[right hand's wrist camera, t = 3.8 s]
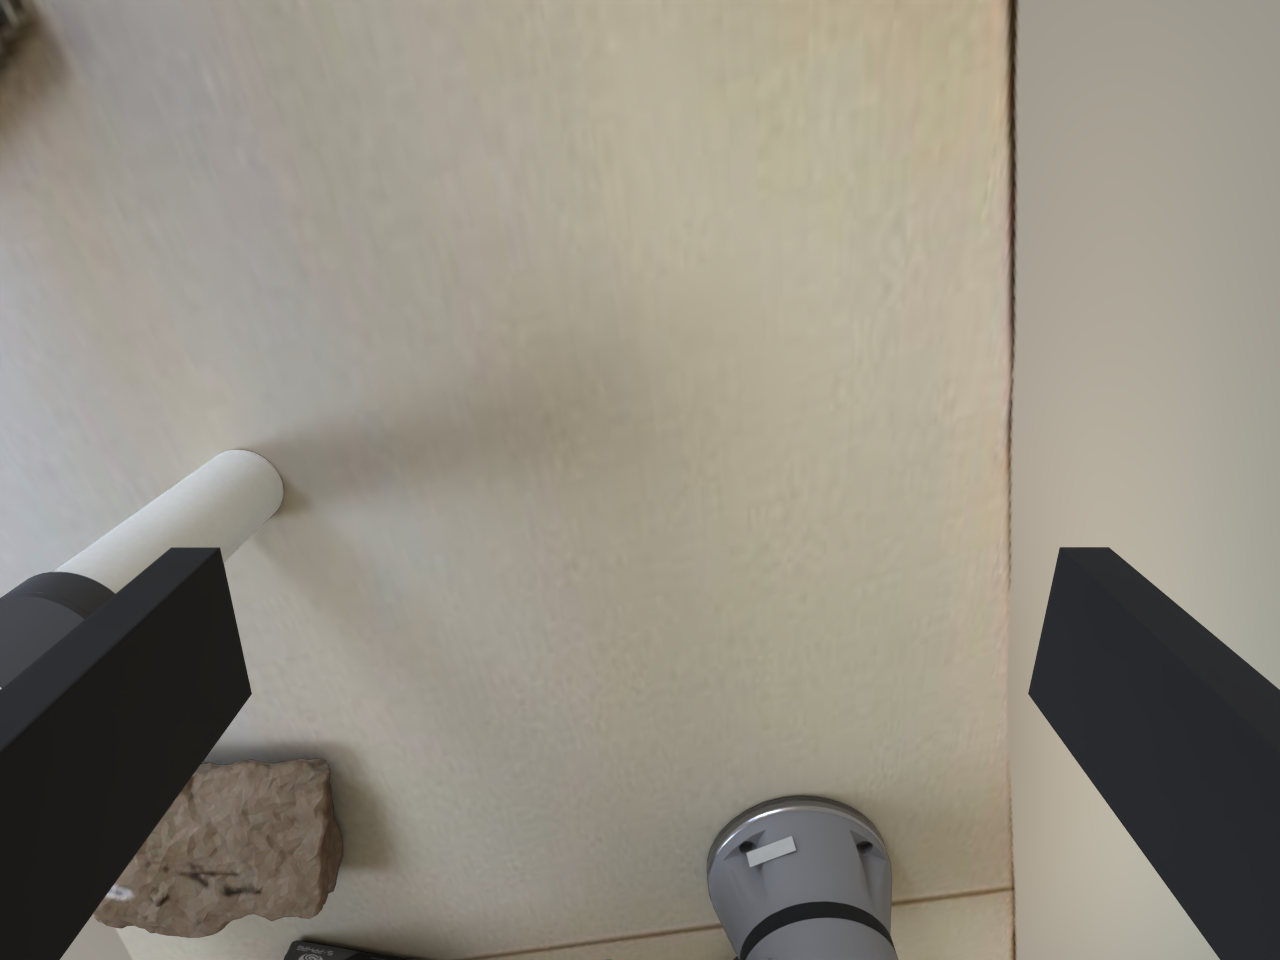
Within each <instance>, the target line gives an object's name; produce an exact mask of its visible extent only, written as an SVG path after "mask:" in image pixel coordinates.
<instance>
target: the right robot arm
mask: <svg viewBox="0 0 1280 960" xmlns="http://www.w3.org/2000/svg"><path fill="white" fill-rule="evenodd" d="M251 694H252V693H251V688H250V684H249V679H248V675H247V670H246V665H245V661H244V656H243V651H242V647H241V642H240V637H239V633H238V628H237V623H236V619H235V614H234V610H233V605H232V600H231V596H230V591H229V586H228V582H227V577H226V572H225V568H224V563H223V558H222V554H221V549H220V547H171V548H170V549H169V550H167V551H166V552H165V553H164V554H163V555H161V556H160V557H159V558H158V559H157V560H156V561H154V562H153V563H152V564H151V565H150V566H148V567H147V568H146V569H145V570H144V571H142V572H141V573H140V574H139V575H138V576H136V577H135V578H134V579H133V580H132V581H130V582H129V583H128V584H127V585H126V586H124V587H123V588H122V589H121V590H120V591H118V592H117V593H116V594H115V595H114V596H112V597H111V598H110V599H109V600H108V601H106V602H105V603H104V604H103V605H102V606H100V607H99V608H98V609H97V610H96V611H94V612H93V613H92V614H91V615H90V616H88V617H87V618H86V619H85V620H84V621H82V622H81V623H80V624H79V625H78V626H76V627H75V628H74V629H73V630H72V631H70V632H69V633H68V634H67V635H66V636H64V637H63V638H62V639H61V640H60V641H58V642H57V643H56V644H55V645H54V646H52V647H51V648H50V649H49V650H48V651H46V652H45V653H44V654H43V655H42V656H40V657H39V658H38V659H37V660H36V661H34V662H33V663H32V664H31V665H30V666H29V667H27V668H26V669H25V670H24V671H23V672H21V673H20V674H19V675H18V676H17V677H15V678H14V679H13V680H12V681H11V682H9V683H8V684H7V685H6V686H5V687H3V688H2V689H1V690H0V960H60V958H61V957H62V956H63V954H64V953H65V952H66V950H67V949H68V947H69V946H70V945H71V943H72V942H73V941H74V939H75V938H76V936H77V935H78V934H79V932H80V931H81V929H82V928H83V927H84V925H85V924H86V923H87V921H88V920H89V918H90V917H91V916H92V914H93V913H94V911H95V910H96V909H97V907H98V906H99V905H100V903H101V902H102V900H103V899H104V898H105V896H106V895H107V893H108V892H109V891H110V889H111V888H112V887H113V885H114V884H115V882H116V881H117V880H118V878H119V877H120V875H121V874H122V873H123V871H124V870H125V869H126V867H127V866H128V864H129V863H130V862H131V860H132V859H133V857H134V856H135V855H136V853H137V852H138V851H139V849H140V848H141V846H142V845H143V844H144V842H145V841H146V839H147V838H148V837H149V835H150V834H151V833H152V831H153V830H154V828H155V827H156V826H157V824H158V823H159V821H160V820H161V819H162V817H163V816H164V815H165V813H166V812H167V810H168V809H169V808H170V806H171V805H172V803H173V802H174V801H175V799H176V798H177V797H178V795H179V794H180V792H181V791H182V790H183V788H184V787H185V785H186V784H187V783H188V781H189V780H190V779H191V777H192V776H193V774H194V773H195V772H196V770H197V769H198V767H199V766H200V765H201V763H202V762H203V761H204V759H205V758H206V756H207V755H208V754H209V752H210V751H211V749H212V748H213V747H214V745H215V744H216V743H217V741H218V740H219V738H220V737H221V736H222V734H223V733H224V731H225V730H226V729H227V727H228V726H229V725H230V723H231V722H232V720H233V719H234V718H235V716H236V715H237V713H238V712H239V711H240V709H241V708H242V707H243V705H244V704H245V702H246V701H247V700H248V698H249V697H250V695H251ZM1028 694H1029V695H1030V697H1031V698H1032V700H1033V701H1034V702H1035V704H1036V705H1037V706H1038V708H1039V709H1040V711H1041V712H1042V713H1043V715H1044V716H1045V718H1046V719H1047V720H1048V722H1049V723H1050V725H1051V726H1052V727H1053V729H1054V730H1055V731H1056V733H1057V734H1058V736H1059V737H1060V738H1061V740H1062V741H1063V743H1064V744H1065V745H1066V747H1067V748H1068V749H1069V751H1070V752H1071V754H1072V755H1073V756H1074V758H1075V759H1076V761H1077V762H1078V763H1079V765H1080V766H1081V767H1082V769H1083V770H1084V772H1085V773H1086V774H1087V776H1088V777H1089V778H1090V780H1091V781H1092V783H1093V784H1094V785H1095V787H1096V788H1097V790H1098V791H1099V792H1100V794H1101V795H1102V797H1103V798H1104V799H1105V800H1106V802H1107V803H1108V805H1109V806H1110V808H1111V809H1112V810H1113V812H1114V813H1115V814H1116V816H1117V817H1118V819H1119V820H1120V821H1121V823H1122V824H1123V826H1124V827H1125V828H1126V830H1127V831H1128V832H1129V834H1130V835H1131V837H1132V838H1133V839H1134V841H1135V842H1136V844H1137V845H1138V846H1139V848H1140V849H1141V850H1142V852H1143V853H1144V855H1145V856H1146V857H1147V859H1148V860H1149V862H1150V863H1151V864H1152V866H1153V867H1154V868H1155V870H1156V871H1157V873H1158V874H1159V875H1160V877H1161V878H1162V880H1163V881H1164V882H1165V884H1166V885H1167V886H1168V888H1169V889H1170V891H1171V892H1172V893H1173V895H1174V896H1175V897H1176V899H1177V900H1178V902H1179V903H1180V904H1181V906H1182V907H1183V909H1184V910H1185V911H1186V913H1187V914H1188V916H1189V917H1190V918H1191V920H1192V921H1193V922H1194V924H1195V925H1196V927H1197V928H1198V929H1199V931H1200V932H1201V934H1202V935H1203V936H1204V938H1205V939H1206V941H1207V942H1208V943H1209V945H1210V946H1211V947H1212V949H1213V950H1214V952H1215V953H1216V954H1217V956H1218V957H1219V958H1220V960H1280V690H1279V689H1278V688H1277V687H1275V686H1274V685H1273V684H1272V683H1271V682H1269V681H1268V680H1267V679H1266V678H1265V677H1263V676H1262V675H1261V674H1260V673H1259V672H1257V671H1256V670H1255V669H1254V668H1253V667H1251V666H1250V665H1249V664H1248V663H1247V662H1245V661H1244V660H1243V659H1242V658H1241V657H1240V656H1238V655H1237V654H1236V653H1235V652H1233V651H1232V650H1231V649H1230V648H1229V647H1228V646H1226V645H1225V644H1224V643H1223V642H1222V641H1220V640H1219V639H1218V638H1217V637H1216V636H1214V635H1213V634H1212V633H1211V632H1210V631H1208V630H1207V629H1206V628H1205V627H1204V626H1202V625H1201V624H1200V623H1199V622H1198V621H1196V620H1195V619H1194V618H1193V617H1192V616H1190V615H1189V614H1188V613H1187V612H1186V611H1184V610H1183V609H1182V608H1181V607H1180V606H1178V605H1177V604H1176V603H1175V602H1174V601H1172V600H1171V599H1170V598H1169V597H1168V596H1166V595H1165V594H1164V593H1163V592H1162V591H1160V590H1159V589H1158V588H1157V587H1156V586H1154V585H1153V584H1152V583H1151V582H1150V581H1148V580H1147V579H1146V578H1145V577H1144V576H1142V575H1141V574H1140V573H1139V572H1138V571H1136V570H1135V569H1134V568H1133V567H1132V566H1130V565H1129V564H1128V563H1127V562H1126V561H1124V560H1123V559H1122V558H1121V557H1120V556H1119V555H1117V554H1116V553H1115V552H1114V551H1112V550H1111V549H1110V548H1109V547H1060V549H1059V554H1058V558H1057V563H1056V568H1055V573H1054V577H1053V582H1052V586H1051V591H1050V596H1049V600H1048V605H1047V610H1046V614H1045V619H1044V624H1043V628H1042V633H1041V638H1040V642H1039V647H1038V651H1037V656H1036V661H1035V665H1034V670H1033V675H1032V679H1031V684H1030V689H1029V693H1028ZM707 880H708V889H709V895H710V898H711V901H712V904H713V907H714V909H715V912H716V914H717V916H718V918H719V920H720V922H721V924H722V926H723V928H724V930H725V932H726V934H727V936H728V938H729V940H730V942H731V944H732V946H733V948H734V950H735V952H736V954H737V957H736V958H735V959H734V960H898V957H897V954H896V951H895V948H894V945H893V942H892V939H891V936H890V928H891V898H892V872H891V864H890V859H889V856H888V853H887V851H886V848H885V845H884V842H883V840H882V837H881V835H880V833H879V832H878V830H877V829H876V827H875V826H874V825H873V824H872V823H871V822H870V821H869V820H868V819H867V818H866V817H865V816H864V815H862V814H861V813H860V812H858V811H856V810H855V809H853V808H851V807H849V806H847V805H845V804H842V803H840V802H837V801H833V800H830V799H825V798H819V797H807V796H799V797H787V798H781V799H776V800H772V801H768V802H765V803H762V804H760V805H757V806H755V807H753V808H750V809H749V810H747V811H745V812H743V813H742V814H740V815H739V816H737V817H736V818H734V819H733V820H732V821H731V822H730V823H729V824H728V825H726V826H725V827H724V828H723V830H722V831H721V832H720V833H719V835H718V836H717V838H716V839H715V841H714V843H713V845H712V847H711V849H710V852H709V855H708V860H707ZM607 960H609V959H607Z"/></svg>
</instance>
